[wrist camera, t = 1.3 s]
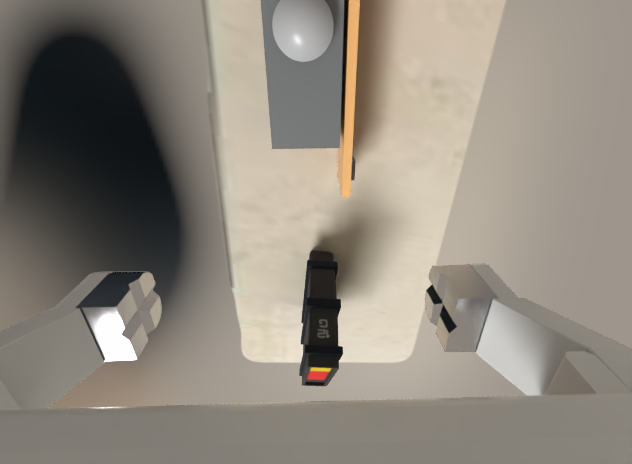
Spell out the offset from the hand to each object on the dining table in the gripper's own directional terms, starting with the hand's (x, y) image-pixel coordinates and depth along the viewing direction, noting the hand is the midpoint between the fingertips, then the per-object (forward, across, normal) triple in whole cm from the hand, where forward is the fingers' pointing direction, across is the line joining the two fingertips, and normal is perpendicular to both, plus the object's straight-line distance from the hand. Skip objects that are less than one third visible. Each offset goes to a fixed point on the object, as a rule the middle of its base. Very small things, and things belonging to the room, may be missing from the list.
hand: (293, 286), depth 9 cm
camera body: (+28, 0, -7) cm, 28 cm away
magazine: (+29, -1, +22) cm, 37 cm away
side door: (+27, -4, -5) cm, 28 cm away
